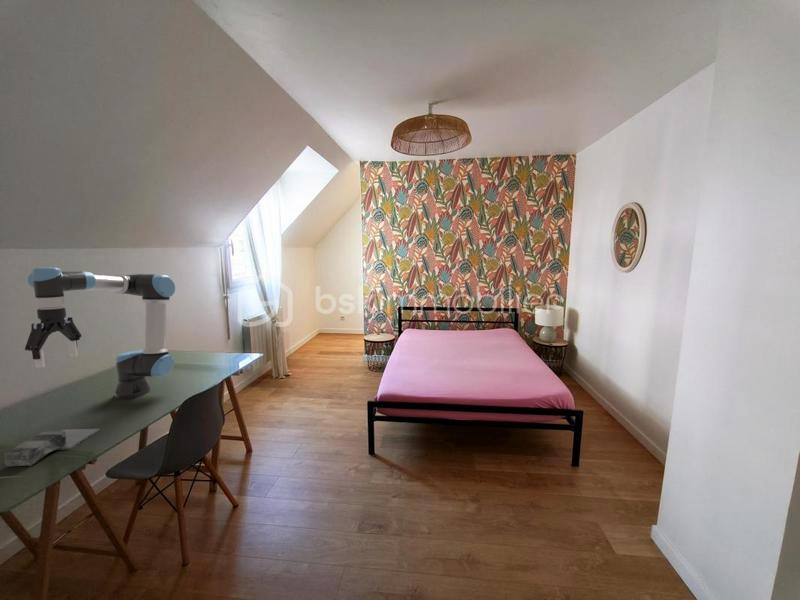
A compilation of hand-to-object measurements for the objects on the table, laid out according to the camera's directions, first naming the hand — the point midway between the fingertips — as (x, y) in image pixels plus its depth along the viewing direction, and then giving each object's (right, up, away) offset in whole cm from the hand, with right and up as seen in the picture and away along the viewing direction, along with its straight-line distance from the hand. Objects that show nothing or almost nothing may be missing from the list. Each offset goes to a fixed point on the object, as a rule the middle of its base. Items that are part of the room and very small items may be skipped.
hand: (57, 361), depth 129 cm
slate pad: (0, -32, +4) cm, 33 cm away
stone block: (0, -31, +1) cm, 31 cm away
